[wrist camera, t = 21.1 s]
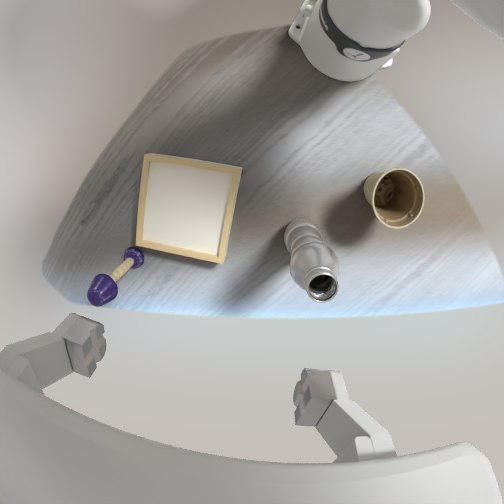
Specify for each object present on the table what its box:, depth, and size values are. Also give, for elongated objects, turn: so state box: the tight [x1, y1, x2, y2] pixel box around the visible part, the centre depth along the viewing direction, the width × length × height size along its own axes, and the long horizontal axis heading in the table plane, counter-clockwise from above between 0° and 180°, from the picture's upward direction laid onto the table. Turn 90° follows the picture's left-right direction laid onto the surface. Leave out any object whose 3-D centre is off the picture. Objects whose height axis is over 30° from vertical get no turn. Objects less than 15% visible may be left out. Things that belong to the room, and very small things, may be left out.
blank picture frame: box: [136, 153, 243, 264], centre depth 46 cm, size 16×16×4 cm
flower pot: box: [364, 168, 425, 229], centre depth 41 cm, size 9×9×9 cm
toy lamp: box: [87, 247, 144, 306], centre depth 44 cm, size 5×5×17 cm
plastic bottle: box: [284, 219, 339, 302], centre depth 39 cm, size 6×7×20 cm
